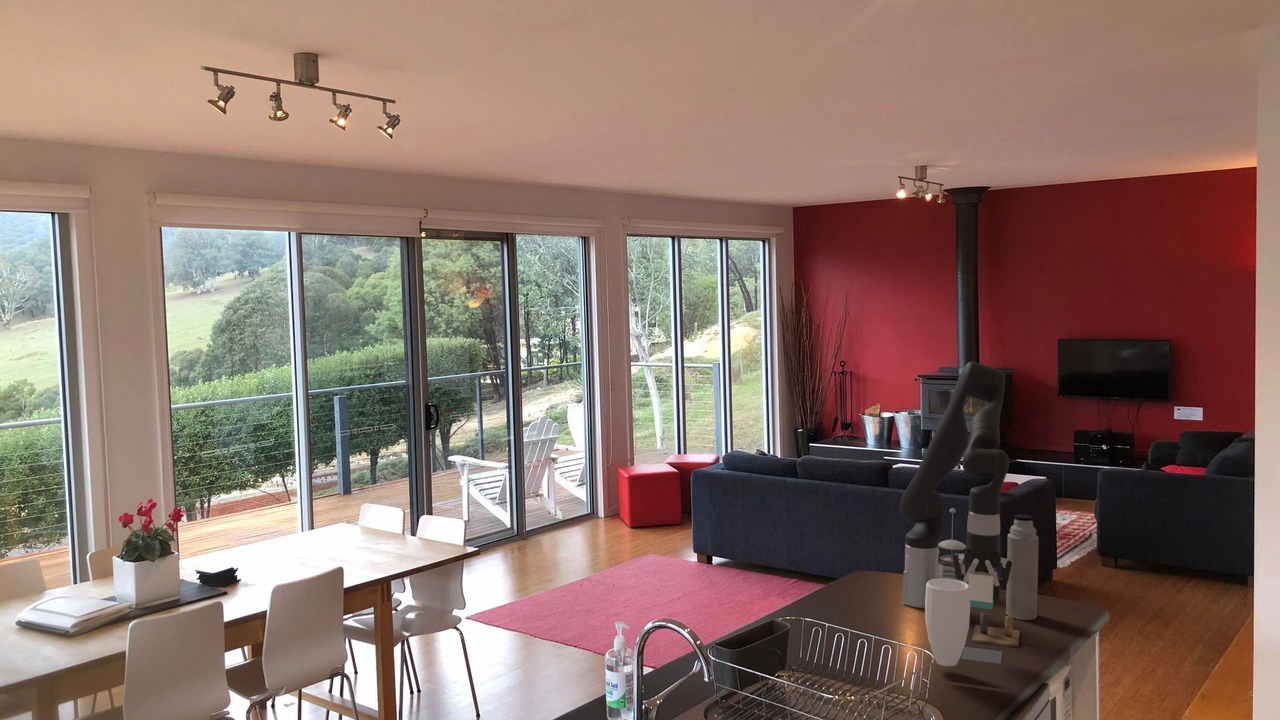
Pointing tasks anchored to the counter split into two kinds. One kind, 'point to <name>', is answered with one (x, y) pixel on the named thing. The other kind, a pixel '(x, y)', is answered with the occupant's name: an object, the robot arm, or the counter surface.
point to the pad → (982, 655)
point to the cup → (947, 618)
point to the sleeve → (981, 589)
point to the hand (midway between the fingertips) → (981, 598)
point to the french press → (948, 559)
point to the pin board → (996, 633)
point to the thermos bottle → (1022, 569)
